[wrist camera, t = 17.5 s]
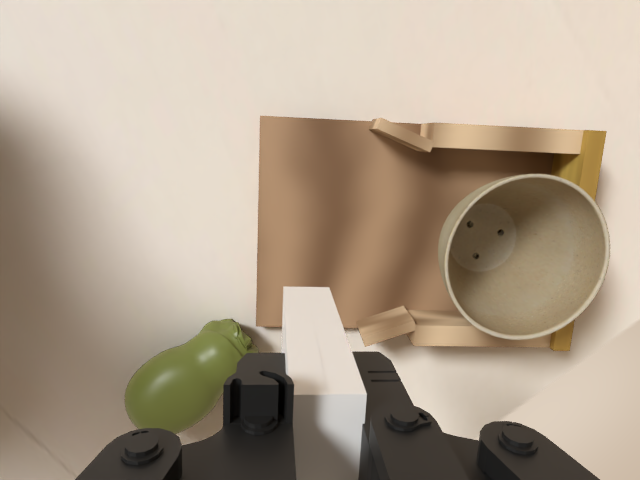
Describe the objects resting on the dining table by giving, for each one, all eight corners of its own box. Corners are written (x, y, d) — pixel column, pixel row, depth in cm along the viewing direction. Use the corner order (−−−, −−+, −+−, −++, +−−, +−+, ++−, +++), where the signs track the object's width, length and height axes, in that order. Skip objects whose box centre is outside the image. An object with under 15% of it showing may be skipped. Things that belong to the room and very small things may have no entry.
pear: (99, 406, 30) (228, 313, 32) (116, 374, 36) (227, 295, 37) (153, 468, 32) (276, 376, 33) (162, 428, 37) (268, 350, 38)
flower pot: (564, 264, 36) (632, 295, 29) (443, 322, 36) (482, 367, 29) (518, 142, 33) (580, 143, 26) (390, 204, 34) (418, 222, 27)
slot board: (256, 322, 36) (252, 348, 32) (260, 114, 33) (257, 111, 28) (536, 327, 38) (569, 352, 33) (565, 130, 34) (606, 129, 30)
